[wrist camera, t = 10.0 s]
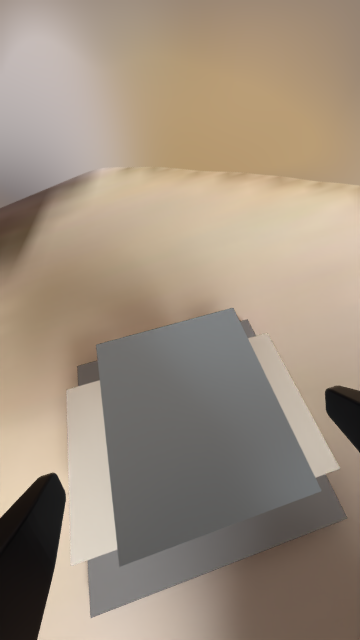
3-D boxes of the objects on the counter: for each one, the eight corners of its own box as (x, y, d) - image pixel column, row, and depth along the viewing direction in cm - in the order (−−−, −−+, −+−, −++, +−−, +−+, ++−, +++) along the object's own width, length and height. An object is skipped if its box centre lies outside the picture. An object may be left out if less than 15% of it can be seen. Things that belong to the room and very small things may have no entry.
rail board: (338, 514, 14) (397, 541, 10) (96, 607, 12) (53, 682, 8) (245, 324, 21) (258, 295, 17) (82, 369, 19) (53, 349, 15)
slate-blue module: (234, 461, 14) (321, 491, 5) (167, 484, 14) (119, 566, 4) (208, 385, 17) (233, 307, 7) (151, 403, 16) (95, 344, 7)
